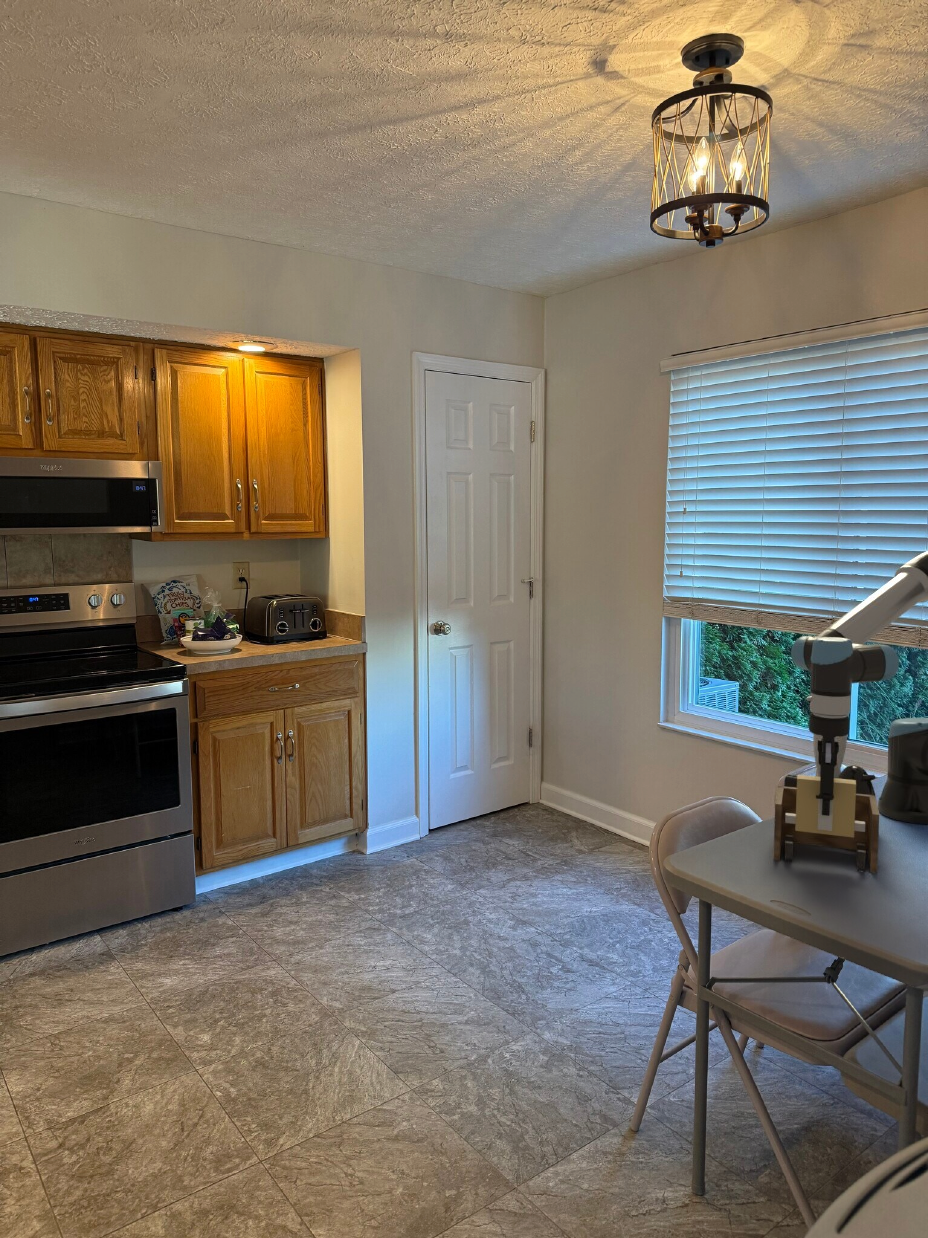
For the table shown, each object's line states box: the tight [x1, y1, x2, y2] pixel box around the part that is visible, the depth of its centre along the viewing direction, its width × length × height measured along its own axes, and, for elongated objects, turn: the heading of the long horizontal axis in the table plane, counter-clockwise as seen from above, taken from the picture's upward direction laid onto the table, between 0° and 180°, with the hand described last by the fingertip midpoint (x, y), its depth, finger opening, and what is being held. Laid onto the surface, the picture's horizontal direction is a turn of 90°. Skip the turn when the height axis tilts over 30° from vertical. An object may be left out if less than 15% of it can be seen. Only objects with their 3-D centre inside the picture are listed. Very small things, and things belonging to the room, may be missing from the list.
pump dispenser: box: [838, 764, 878, 802], centre depth 194 cm, size 10×10×15 cm
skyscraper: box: [812, 733, 848, 779], centre depth 204 cm, size 8×8×28 cm
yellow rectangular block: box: [785, 774, 865, 838], centre depth 176 cm, size 15×3×11 cm, turn 68°
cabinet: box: [773, 785, 880, 874], centre depth 180 cm, size 19×13×12 cm
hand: (824, 826), depth 176 cm, fingers closed on yellow rectangular block, 3 cm apart
